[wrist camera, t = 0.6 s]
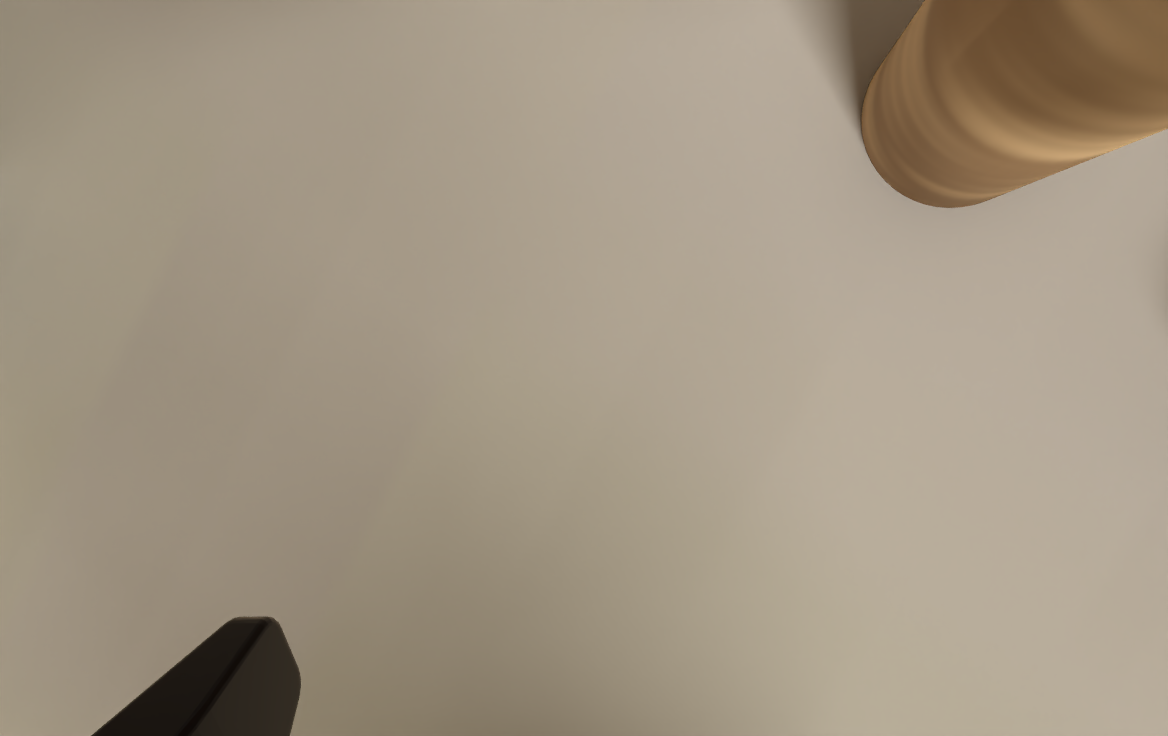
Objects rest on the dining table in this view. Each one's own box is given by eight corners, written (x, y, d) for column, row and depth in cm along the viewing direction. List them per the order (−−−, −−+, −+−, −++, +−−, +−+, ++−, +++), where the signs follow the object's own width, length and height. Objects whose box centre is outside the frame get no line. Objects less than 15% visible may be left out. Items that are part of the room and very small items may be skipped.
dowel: (1075, 167, 20) (1756, -101, 7) (897, 234, 20) (1213, 105, 7) (1012, -4, 20) (1577, -597, 7) (835, 68, 20) (1047, -348, 7)
